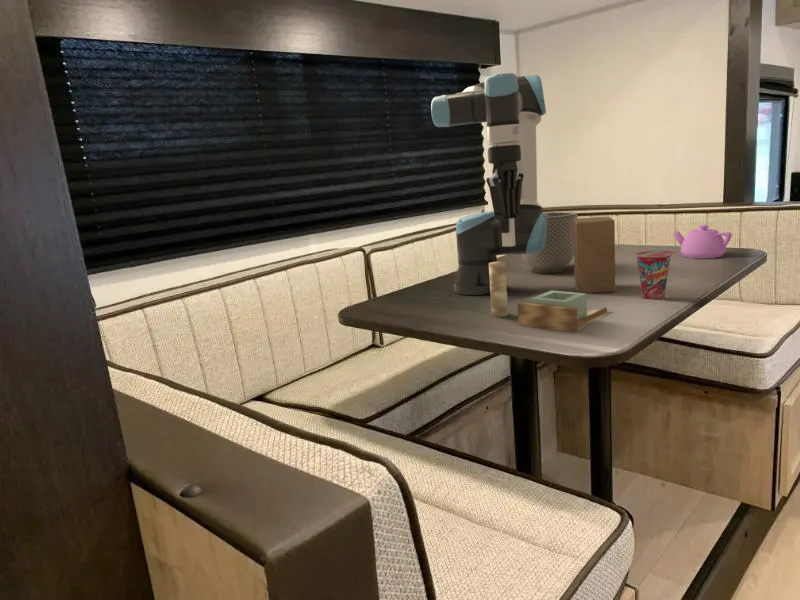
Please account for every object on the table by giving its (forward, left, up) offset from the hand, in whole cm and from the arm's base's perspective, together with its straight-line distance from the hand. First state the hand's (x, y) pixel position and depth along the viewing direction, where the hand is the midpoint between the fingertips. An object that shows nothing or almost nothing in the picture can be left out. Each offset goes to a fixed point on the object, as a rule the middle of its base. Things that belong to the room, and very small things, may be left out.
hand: (508, 245), depth 143 cm
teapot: (+13, +96, -18) cm, 99 cm away
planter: (-23, +57, -18) cm, 65 cm away
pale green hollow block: (+14, -1, -17) cm, 22 cm away
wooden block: (+4, +36, -18) cm, 41 cm away
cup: (+23, +31, -18) cm, 43 cm away
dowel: (-2, -2, -18) cm, 18 cm away
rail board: (+14, +2, -18) cm, 23 cm away
